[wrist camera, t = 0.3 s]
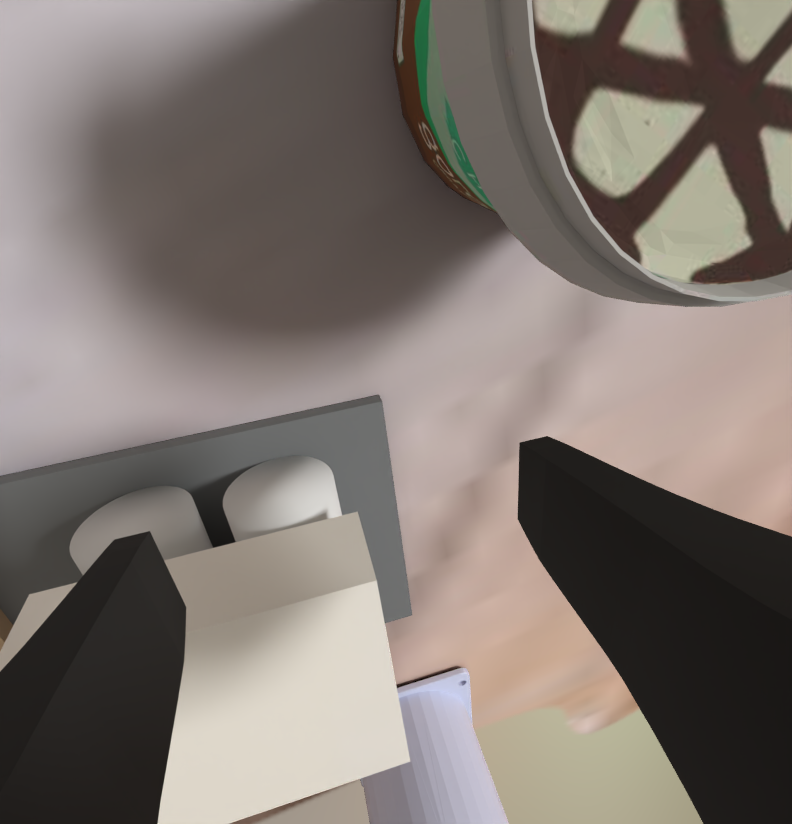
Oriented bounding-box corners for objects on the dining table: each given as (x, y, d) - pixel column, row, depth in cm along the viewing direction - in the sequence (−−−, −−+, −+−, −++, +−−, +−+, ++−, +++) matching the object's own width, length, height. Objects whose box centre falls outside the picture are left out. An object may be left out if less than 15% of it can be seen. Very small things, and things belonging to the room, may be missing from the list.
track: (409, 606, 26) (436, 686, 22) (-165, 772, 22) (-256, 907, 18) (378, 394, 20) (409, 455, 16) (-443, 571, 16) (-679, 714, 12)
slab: (391, 686, 21) (410, 761, 18) (150, 762, 19) (134, 856, 17) (357, 511, 16) (376, 580, 13) (29, 594, 14) (-20, 690, 12)
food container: (282, 142, 15) (315, 133, 6) (364, -95, 13) (574, -573, 4) (572, 296, 20) (808, 406, 11) (664, 142, 18) (1036, 137, 9)
